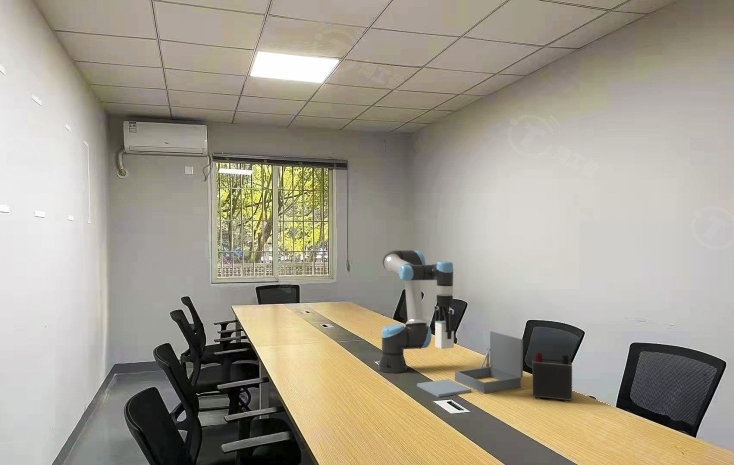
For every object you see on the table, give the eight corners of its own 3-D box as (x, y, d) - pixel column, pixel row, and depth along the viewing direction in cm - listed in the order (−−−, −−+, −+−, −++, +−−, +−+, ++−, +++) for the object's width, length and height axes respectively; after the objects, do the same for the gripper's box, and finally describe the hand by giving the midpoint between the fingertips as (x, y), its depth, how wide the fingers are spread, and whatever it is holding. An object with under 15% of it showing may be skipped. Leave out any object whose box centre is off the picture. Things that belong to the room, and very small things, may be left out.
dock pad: (416, 386, 234) (416, 383, 234) (448, 381, 242) (448, 379, 242) (438, 397, 218) (438, 394, 218) (471, 391, 226) (471, 389, 226)
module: (435, 346, 231) (435, 321, 231) (447, 345, 234) (447, 320, 234) (441, 349, 227) (441, 322, 227) (453, 347, 230) (453, 321, 230)
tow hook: (478, 369, 267) (479, 373, 258) (478, 345, 267) (479, 348, 258) (494, 370, 265) (496, 374, 256) (494, 346, 266) (496, 349, 257)
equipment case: (453, 379, 245) (453, 334, 245) (490, 374, 255) (490, 330, 255) (483, 393, 224) (484, 343, 224) (522, 386, 234) (522, 339, 234)
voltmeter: (569, 392, 227) (569, 348, 227) (572, 403, 212) (572, 356, 212) (532, 388, 232) (532, 345, 233) (532, 399, 217) (532, 353, 217)
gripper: (463, 296, 224) (462, 347, 224) (440, 292, 240) (439, 340, 240) (449, 297, 221) (449, 349, 221) (427, 293, 237) (426, 341, 237)
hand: (444, 344), depth 230 cm, fingers closed on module, 5 cm apart
